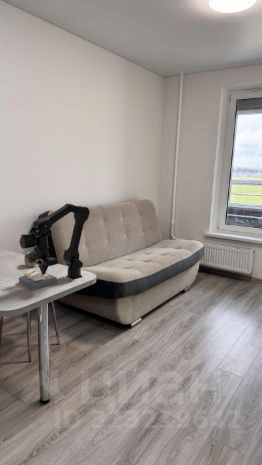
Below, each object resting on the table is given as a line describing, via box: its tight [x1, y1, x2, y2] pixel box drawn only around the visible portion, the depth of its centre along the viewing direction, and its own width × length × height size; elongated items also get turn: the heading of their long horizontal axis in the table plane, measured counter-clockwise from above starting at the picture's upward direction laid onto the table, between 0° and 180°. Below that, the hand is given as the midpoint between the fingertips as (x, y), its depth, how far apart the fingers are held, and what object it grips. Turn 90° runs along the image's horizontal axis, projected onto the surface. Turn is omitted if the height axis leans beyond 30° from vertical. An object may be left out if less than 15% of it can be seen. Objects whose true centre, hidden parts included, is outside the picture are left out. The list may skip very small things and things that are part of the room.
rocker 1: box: [23, 268, 37, 278], centre depth 168 cm, size 5×3×2 cm, turn 136°
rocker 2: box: [28, 271, 40, 279], centre depth 165 cm, size 5×3×2 cm, turn 136°
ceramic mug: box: [23, 251, 38, 268], centre depth 194 cm, size 11×8×8 cm
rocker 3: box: [33, 274, 45, 281], centre depth 162 cm, size 5×3×2 cm, turn 136°
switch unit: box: [18, 271, 58, 291], centre depth 167 cm, size 14×14×3 cm
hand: (43, 274), depth 163 cm, fingers closed
